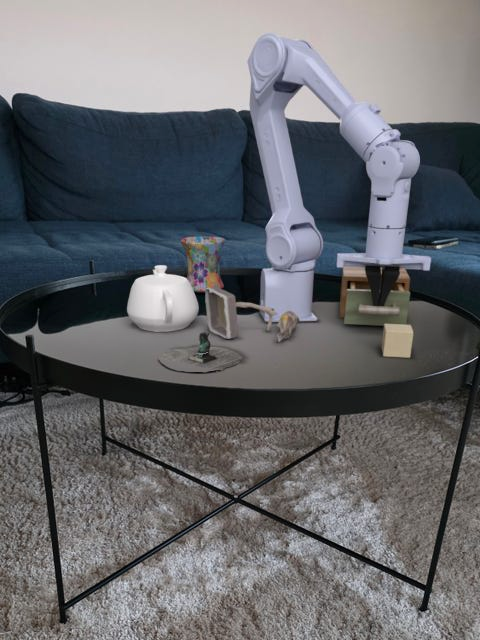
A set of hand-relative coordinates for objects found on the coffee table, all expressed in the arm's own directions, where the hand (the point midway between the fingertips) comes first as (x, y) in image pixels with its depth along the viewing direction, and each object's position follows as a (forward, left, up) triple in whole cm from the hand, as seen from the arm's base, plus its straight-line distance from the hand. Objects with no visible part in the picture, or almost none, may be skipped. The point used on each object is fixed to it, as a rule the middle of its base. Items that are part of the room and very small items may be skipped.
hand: (377, 312), depth 98 cm
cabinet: (+4, +15, -4) cm, 16 cm away
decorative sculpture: (-20, +1, -4) cm, 20 cm away
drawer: (+1, +5, -3) cm, 6 cm away
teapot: (-36, +10, -4) cm, 37 cm away
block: (0, -10, -4) cm, 11 cm away
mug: (-27, +36, -4) cm, 45 cm away
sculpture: (-30, -10, -4) cm, 32 cm away
